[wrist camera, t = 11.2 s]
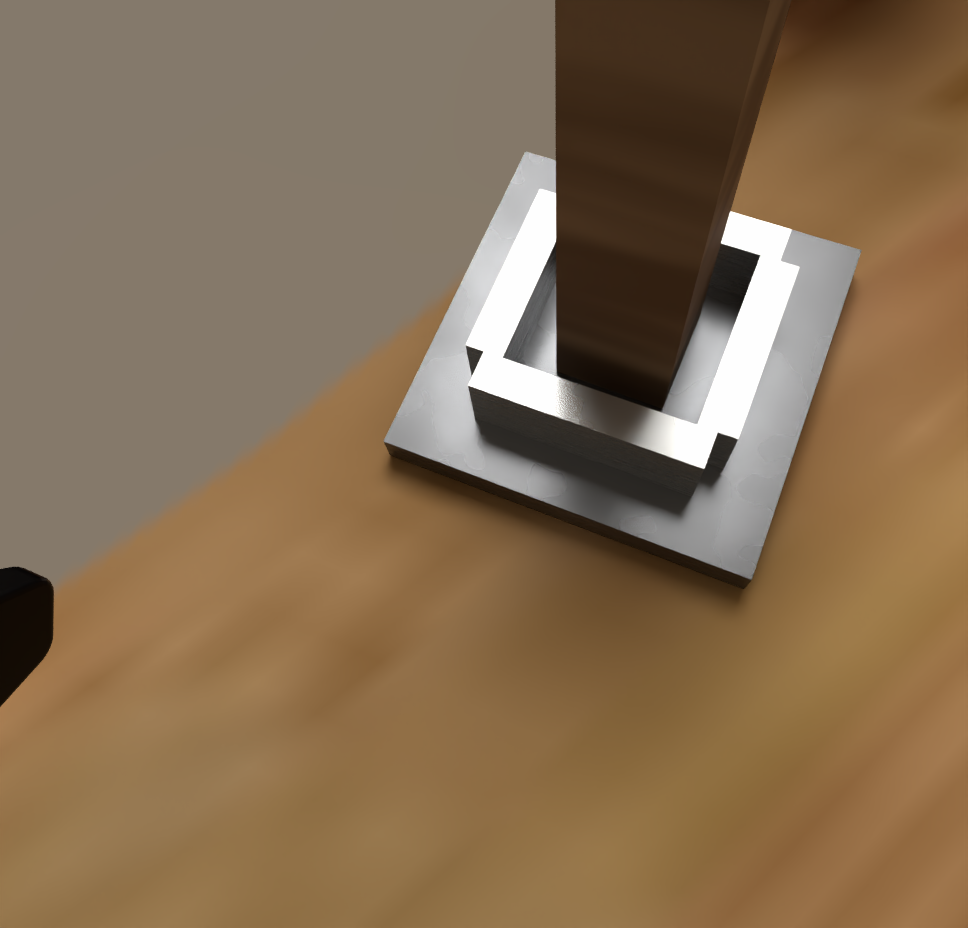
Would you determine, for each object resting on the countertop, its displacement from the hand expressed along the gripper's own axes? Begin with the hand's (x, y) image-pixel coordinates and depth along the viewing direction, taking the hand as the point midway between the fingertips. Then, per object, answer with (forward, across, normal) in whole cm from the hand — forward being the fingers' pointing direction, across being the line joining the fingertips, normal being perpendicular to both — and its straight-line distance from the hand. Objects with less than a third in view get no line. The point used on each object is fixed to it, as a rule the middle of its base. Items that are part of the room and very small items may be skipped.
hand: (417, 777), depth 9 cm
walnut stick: (+17, +1, 0) cm, 17 cm away
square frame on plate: (+18, +1, +1) cm, 18 cm away
